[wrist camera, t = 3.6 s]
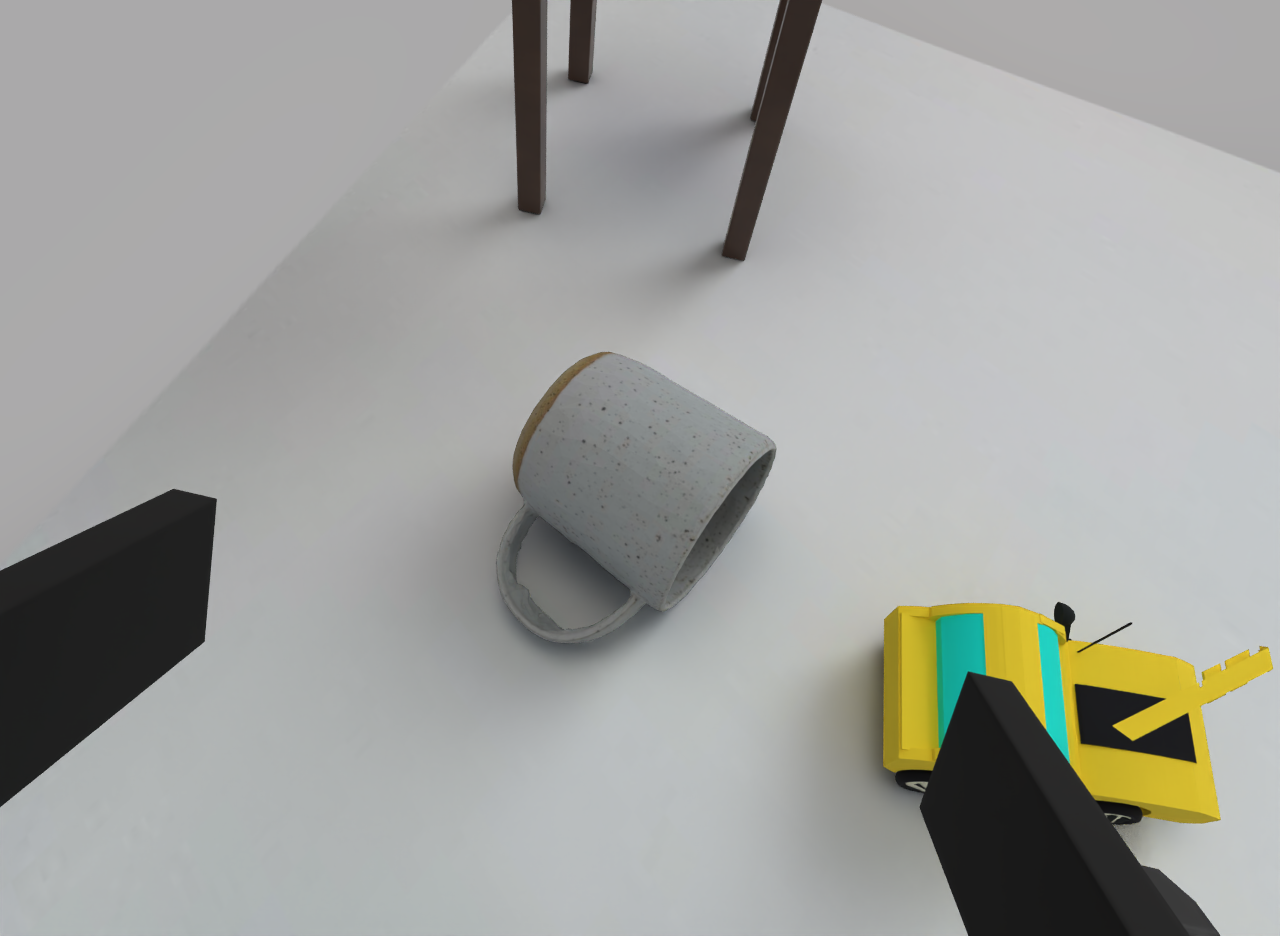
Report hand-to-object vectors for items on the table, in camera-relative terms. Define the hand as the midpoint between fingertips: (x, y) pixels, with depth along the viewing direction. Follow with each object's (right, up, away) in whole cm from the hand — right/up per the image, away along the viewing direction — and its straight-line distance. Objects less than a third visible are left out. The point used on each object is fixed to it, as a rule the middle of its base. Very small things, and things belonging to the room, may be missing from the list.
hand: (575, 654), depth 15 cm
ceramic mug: (0, 0, +22) cm, 21 cm away
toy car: (+16, -7, +19) cm, 26 cm away
